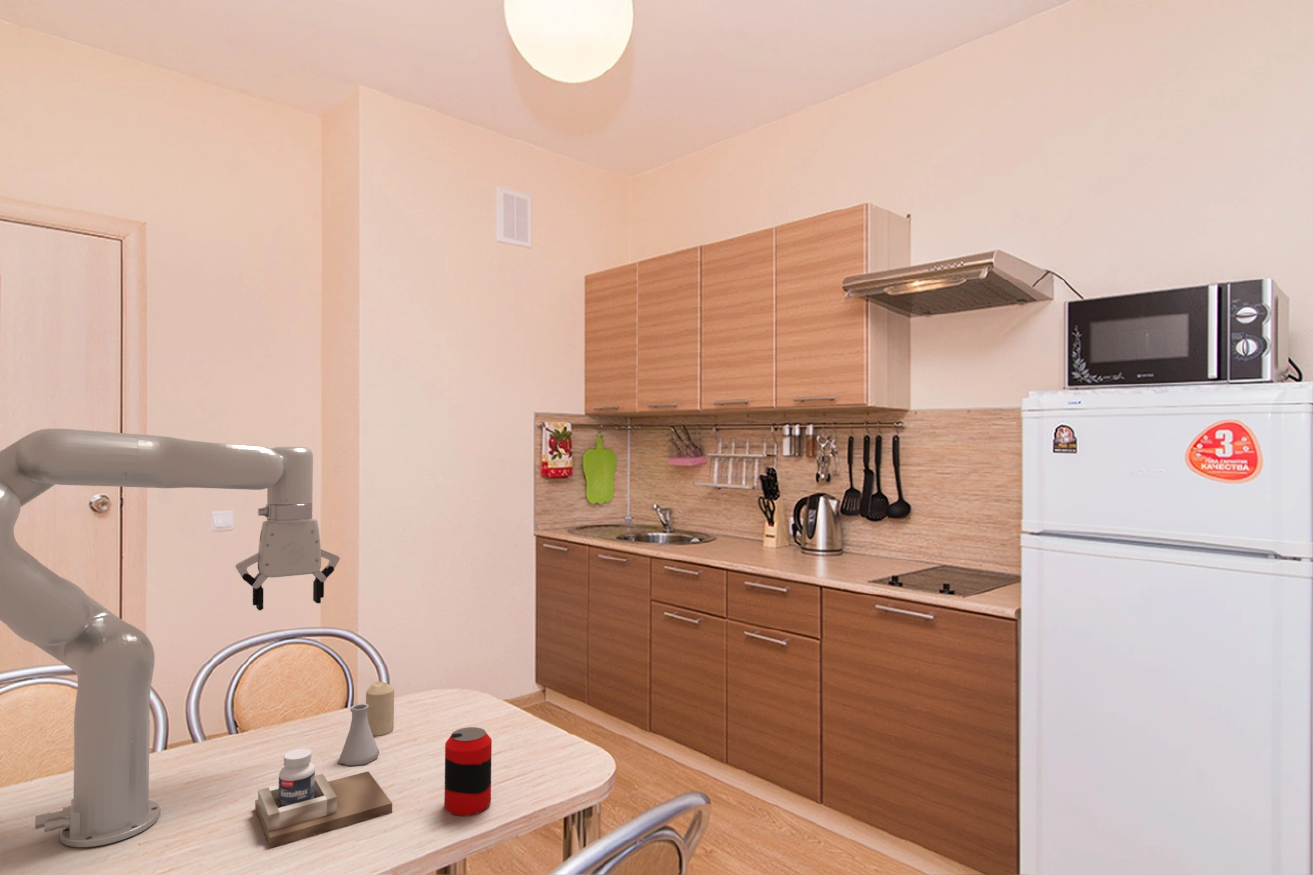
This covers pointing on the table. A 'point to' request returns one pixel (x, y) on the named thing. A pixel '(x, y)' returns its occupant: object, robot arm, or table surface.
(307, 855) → the table surface
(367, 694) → the candle
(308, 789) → the pill bottle
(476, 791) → the soda can
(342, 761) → the flask
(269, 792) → the socket board
